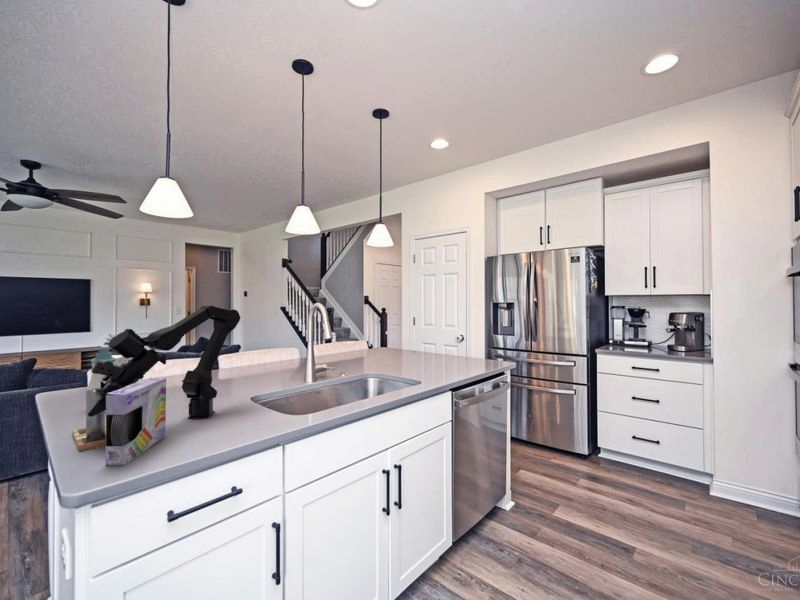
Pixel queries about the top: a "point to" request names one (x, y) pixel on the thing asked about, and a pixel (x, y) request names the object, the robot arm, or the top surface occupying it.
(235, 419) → the top surface
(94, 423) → the steel pin
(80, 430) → the socket rail
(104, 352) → the soap bottle
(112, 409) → the cake pan box
